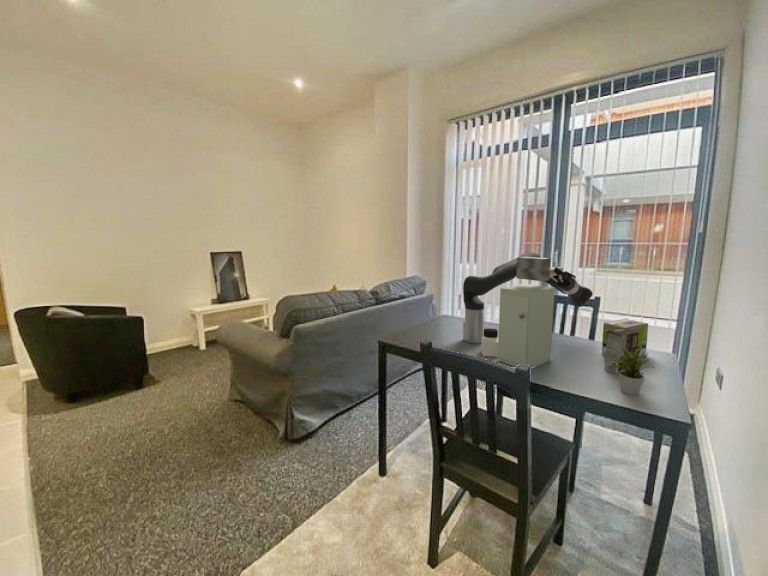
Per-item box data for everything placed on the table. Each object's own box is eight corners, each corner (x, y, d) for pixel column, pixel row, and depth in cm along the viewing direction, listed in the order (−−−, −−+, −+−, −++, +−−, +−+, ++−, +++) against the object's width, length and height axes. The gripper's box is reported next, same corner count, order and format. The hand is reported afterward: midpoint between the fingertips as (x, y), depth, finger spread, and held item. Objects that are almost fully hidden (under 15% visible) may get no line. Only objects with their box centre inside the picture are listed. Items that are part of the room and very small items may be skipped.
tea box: (623, 348, 161) (626, 317, 159) (646, 355, 152) (650, 323, 149) (600, 353, 156) (603, 321, 154) (622, 361, 147) (625, 327, 144)
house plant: (611, 377, 131) (615, 336, 128) (657, 389, 121) (662, 344, 119) (600, 389, 122) (603, 345, 119) (648, 403, 112) (654, 355, 109)
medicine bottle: (499, 357, 154) (499, 331, 152) (482, 356, 155) (483, 330, 153) (497, 351, 161) (498, 326, 159) (481, 351, 162) (481, 326, 160)
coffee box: (620, 365, 142) (624, 327, 139) (635, 371, 136) (639, 332, 133) (603, 368, 140) (606, 330, 137) (617, 374, 134) (621, 334, 131)
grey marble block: (516, 278, 149) (517, 257, 148) (546, 272, 163) (547, 253, 161) (542, 281, 140) (543, 259, 138) (572, 275, 153) (574, 254, 152)
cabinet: (495, 361, 150) (498, 288, 144) (521, 351, 160) (524, 283, 155) (525, 371, 138) (529, 293, 133) (550, 360, 149) (554, 287, 144)
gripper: (555, 275, 170) (539, 260, 160) (585, 278, 158) (570, 262, 148) (550, 289, 169) (533, 274, 159) (580, 293, 157) (564, 278, 147)
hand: (551, 268), depth 153 cm, fingers closed on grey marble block, 3 cm apart
